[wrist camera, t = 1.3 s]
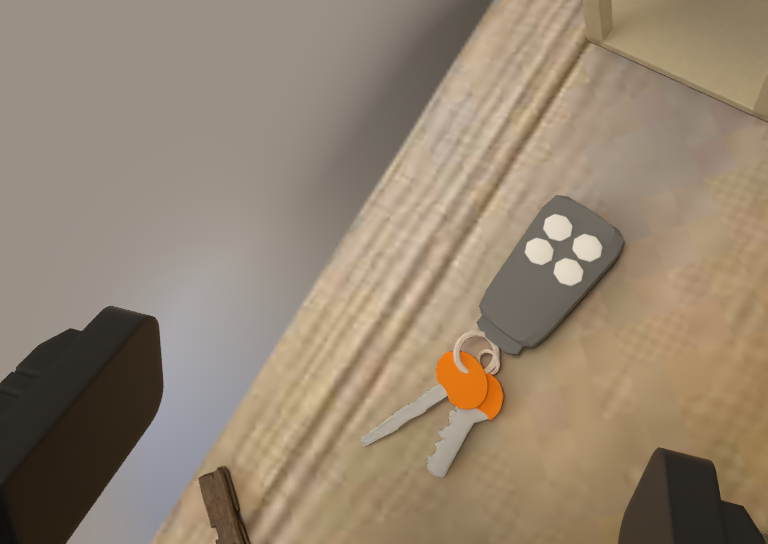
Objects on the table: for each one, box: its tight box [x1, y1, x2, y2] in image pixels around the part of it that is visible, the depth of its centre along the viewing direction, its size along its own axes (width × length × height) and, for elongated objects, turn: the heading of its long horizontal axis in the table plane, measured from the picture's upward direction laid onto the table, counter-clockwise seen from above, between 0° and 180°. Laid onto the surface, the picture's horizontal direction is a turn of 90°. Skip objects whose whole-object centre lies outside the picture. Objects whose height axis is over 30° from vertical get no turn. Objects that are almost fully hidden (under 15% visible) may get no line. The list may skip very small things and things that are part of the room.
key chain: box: [360, 195, 625, 478], centre depth 29 cm, size 13×4×2 cm, turn 140°
